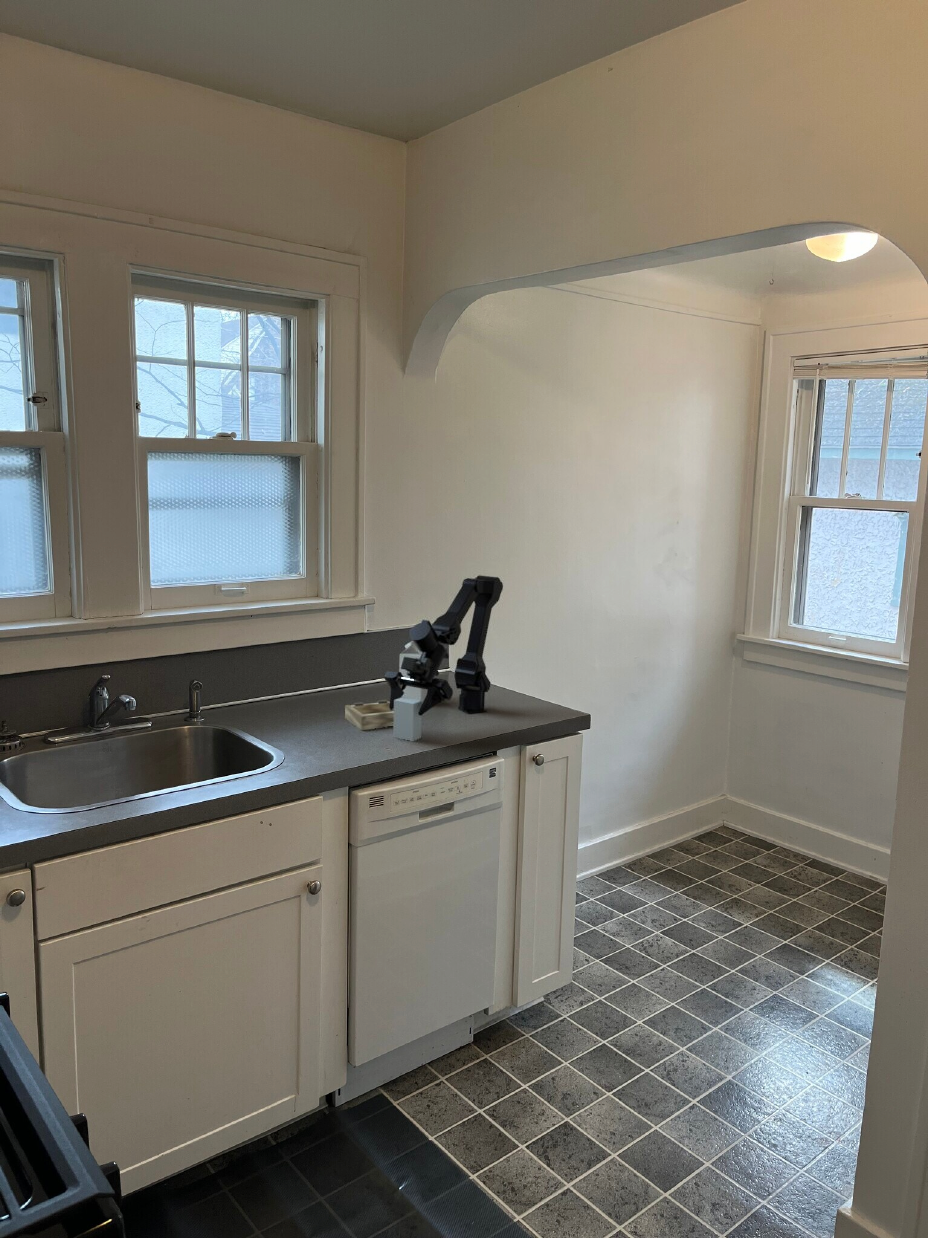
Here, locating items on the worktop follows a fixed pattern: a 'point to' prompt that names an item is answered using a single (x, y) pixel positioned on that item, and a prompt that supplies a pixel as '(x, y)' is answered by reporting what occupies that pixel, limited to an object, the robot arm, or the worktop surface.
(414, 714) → the pale blue box
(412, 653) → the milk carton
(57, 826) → the worktop surface
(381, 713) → the wooden tray
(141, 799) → the worktop surface
